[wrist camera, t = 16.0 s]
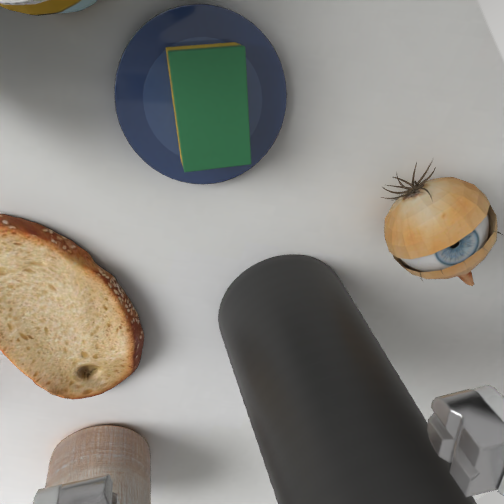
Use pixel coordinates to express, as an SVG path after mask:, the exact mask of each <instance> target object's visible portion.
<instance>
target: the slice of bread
mask: <svg viewBox="0 0 504 504" xmlns="http://www.w3.org/2000/svg"><path fill="white" fill-rule="evenodd" d="M143 342H144V333H143V330H142V327H141V324H140V321H139V317H138V313H137V312H136V310H135V309H134V307H133V305H132V302H131V301H130V299H129V298H128V297H127V295H126V294H125V292H124V290H123V289H122V287H121V286H120V285H119V284H118V282H117V281H116V279H115V277H114V276H113V275H112V274H110V273H109V272H107V271H106V270H104V269H102V268H101V267H99V266H98V265H97V264H96V263H95V262H94V260H93V259H92V257H91V255H90V254H89V253H88V252H87V251H85V250H84V249H82V248H81V247H79V246H78V245H77V244H76V243H74V242H73V241H72V240H69V239H67V238H65V237H64V236H61V235H59V234H57V233H56V232H54V231H52V230H51V229H49V228H46V227H44V226H42V225H40V224H38V223H35V222H31V221H27V220H25V219H22V218H17V217H12V216H9V215H5V214H0V350H1V351H2V353H3V354H4V355H5V356H6V357H7V358H8V359H9V360H10V361H11V362H12V363H13V364H14V365H15V366H16V367H17V368H18V369H19V370H20V371H21V372H23V373H24V374H25V375H27V376H28V377H29V378H31V379H32V380H33V381H34V383H35V384H36V385H38V386H40V387H41V388H43V389H45V390H46V391H48V392H49V393H50V394H52V395H56V396H59V397H62V398H69V399H82V398H86V397H92V396H96V395H99V394H102V393H104V392H106V391H108V390H110V389H112V388H113V387H115V386H116V385H118V384H119V383H121V382H122V381H123V380H125V379H126V378H127V377H129V376H130V375H131V374H132V373H133V372H134V371H135V370H136V368H137V367H138V365H139V362H140V359H141V354H142V348H143Z"/></svg>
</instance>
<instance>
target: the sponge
mask: <svg viewBox="0 0 504 504" xmlns="http://www.w3.org/2000/svg"><path fill="white" fill-rule="evenodd" d="M166 55H167V63H168V70H169V77H170V85H171V92H172V99H173V107H174V114H175V121H176V129H177V136H178V143H179V151H180V158H181V162H182V165H183V169H184V172H192V171H201V170H209V169H217V168H225V167H234V166H242V165H250V164H251V146H250V127H249V108H248V89H247V70H246V51H245V46H243V45H241V44H238V43H235V42H231V43H218V44H204V45H191V46H177V47H166Z"/></svg>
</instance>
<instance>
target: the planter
mask: <svg viewBox="0 0 504 504" xmlns="http://www.w3.org/2000/svg"><path fill="white" fill-rule="evenodd" d="M107 474H109V475H110V477H111V479H112V482H113V490H112V492H114V493H116V494H117V495H118V498H119V502H120V504H151V457H150V449H149V446H148V443H147V442H146V440H145V439H144V438H143V437H142V436H141V435H139V434H138V433H136V432H135V431H132V430H130V429H128V428H124V427H120V426H113V425H101V426H94V427H89V428H85V429H82V430H80V431H77V432H75V433H73V434H71V435H69V436H68V437H66V438H65V439H63V440H62V441H61V442H60V443H59V444H58V445H57V446H56V448H55V449H54V451H53V454H52V456H51V459H50V464H49V469H48V474H47V480H46V486H45V488H47V487H52V486H56V485H60V484H66V483H70V482H75V481H80V480H84V479H89V478H93V477H98V476H103V475H107Z"/></svg>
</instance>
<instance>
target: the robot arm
mask: <svg viewBox="0 0 504 504" xmlns="http://www.w3.org/2000/svg"><path fill="white" fill-rule="evenodd" d="M431 408H432V410H433V411H434V414H433V415H432V416H431V417H430V418H429V419H428V424H427V431H428V436H429V440H430V442H431V444H432V446H433V448H434V450H435V451H436V453H437V454H438V456H439V457H441V458H442V459H444V460H446V461H447V462H449V463H450V467H449V472H450V474H451V475H452V477H453V478H454V480H455V481H456V483H457V484H458V486H459V487H460V489H461V490H462V492H463V493H464V495H465V496H466V497H469V496H473V495H477V494H481V493H485V492H490V491H493V490H498V492H499V493H500V494H501V495H503V496H504V397H503V396H502V395H501V394H500V393H499V392H498V391H497V390H496V389H495V388H494V387H492V386H490V385H486V386H482V387H478V388H474V389H467V390H463V391H459V392H455V393H451V394H447V395H443V396H439V397H436V398H435V399H434V400H433V401H432V405H431ZM112 490H113V482H112V479H111V477H110V475H109V474H107V475H103V476H98V477H93V478H89V479H84V480H80V481H75V482H70V483H66V484H60V485H56V486H52V487H47V488H43V489H39V490H38V491H37V493H36V495H35V497H34V500H33V504H120V502H119V498H118V495H117V494H116V493H114V492H112Z"/></svg>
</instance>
